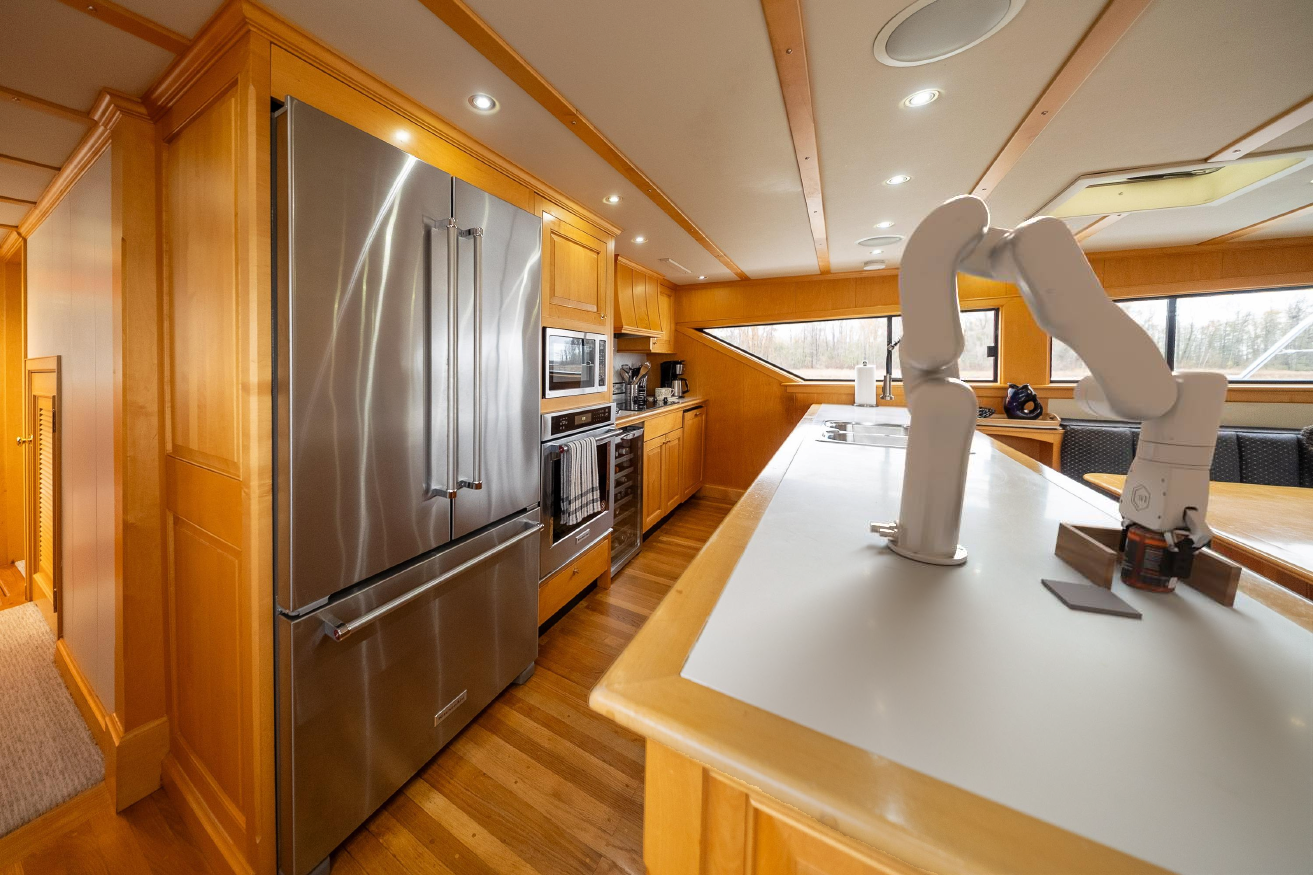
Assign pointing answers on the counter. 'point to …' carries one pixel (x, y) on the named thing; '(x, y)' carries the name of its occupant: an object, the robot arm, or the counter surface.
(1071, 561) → the angled wooden boards
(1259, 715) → the counter surface
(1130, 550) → the supplement bottle
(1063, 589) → the mat
